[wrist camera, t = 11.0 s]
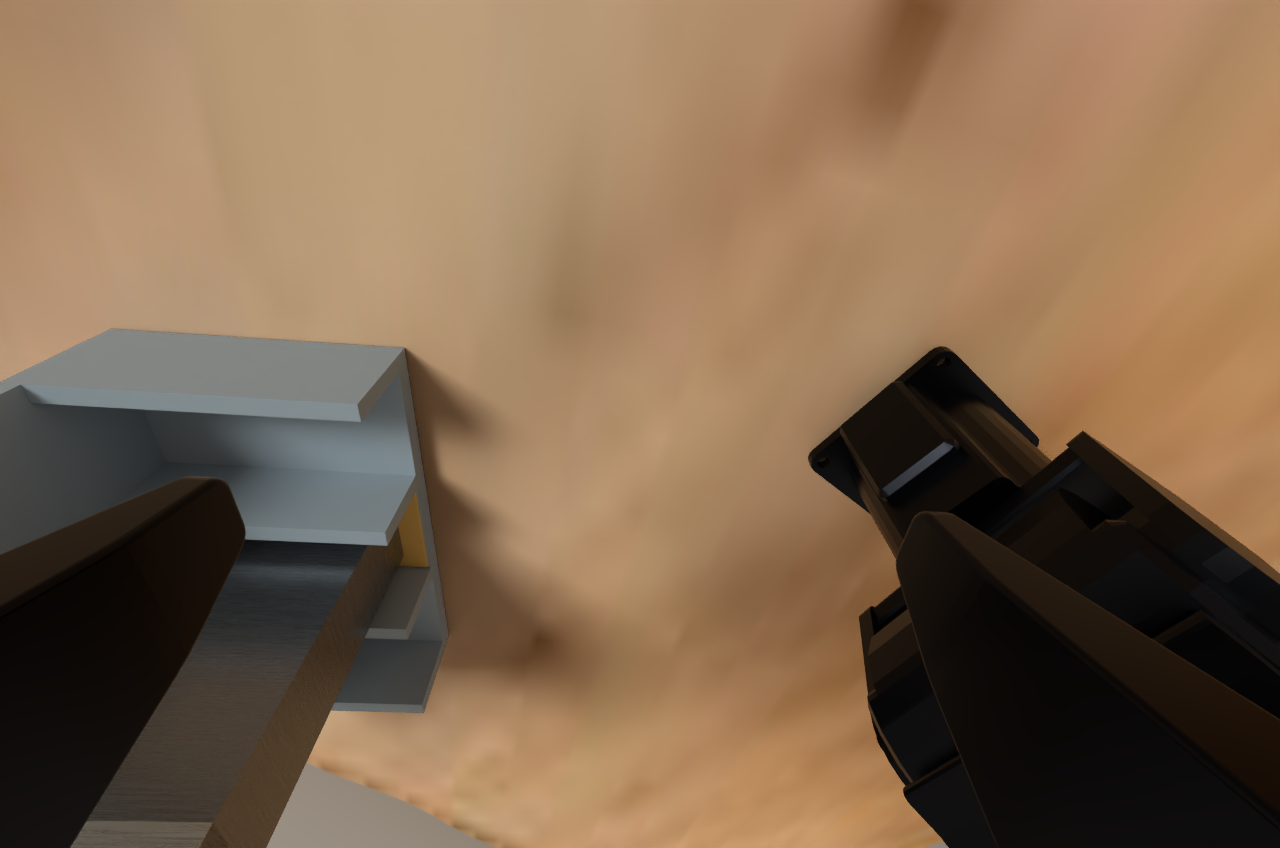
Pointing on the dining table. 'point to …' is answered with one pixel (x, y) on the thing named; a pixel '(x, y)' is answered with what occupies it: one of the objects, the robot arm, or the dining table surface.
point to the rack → (241, 463)
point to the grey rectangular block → (247, 699)
